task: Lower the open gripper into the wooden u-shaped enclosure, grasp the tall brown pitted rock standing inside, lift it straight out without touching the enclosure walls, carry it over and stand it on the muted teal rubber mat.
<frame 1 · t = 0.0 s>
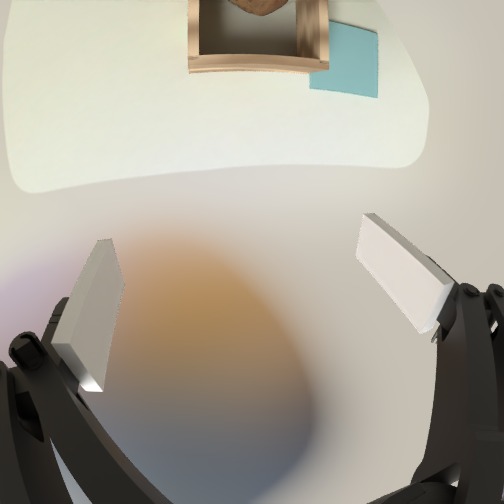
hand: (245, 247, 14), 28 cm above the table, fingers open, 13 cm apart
wooden u-shaped enclosure: (248, 6, 26), on the table
mat: (345, 58, 33), on the table
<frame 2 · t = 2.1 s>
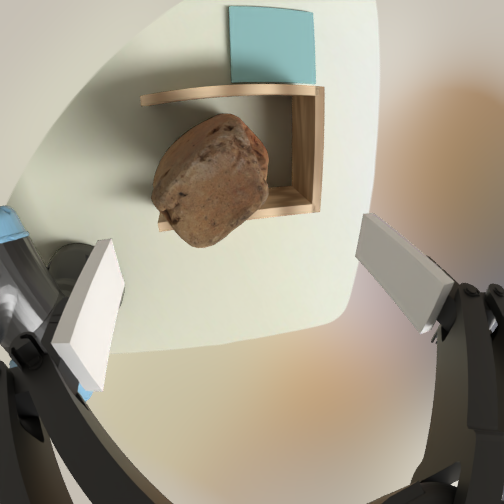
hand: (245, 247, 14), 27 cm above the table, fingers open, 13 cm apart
wooden u-shaped enclosure: (227, 145, 36), on the table
brown pitted rock: (205, 146, 36), on the table
mat: (273, 44, 30), on the table
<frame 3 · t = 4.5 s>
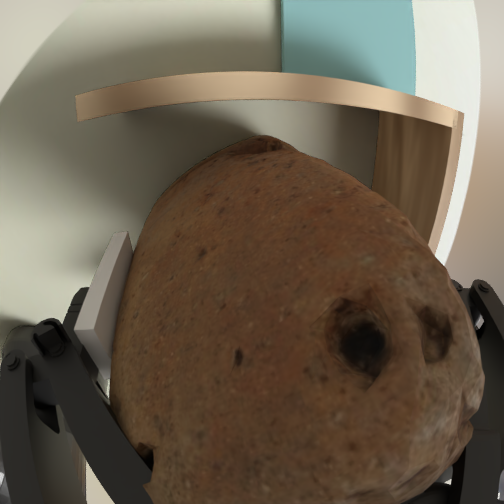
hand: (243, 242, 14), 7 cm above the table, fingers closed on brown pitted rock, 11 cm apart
wooden u-shaped enclosure: (267, 192, 21), on the table
brown pitted rock: (227, 194, 20), on the table, touching gripper
mat: (354, 16, 14), on the table
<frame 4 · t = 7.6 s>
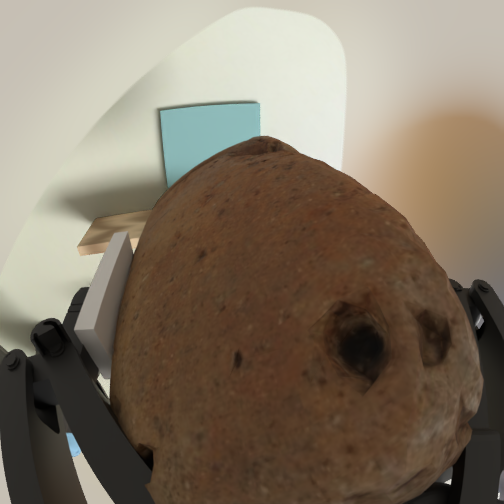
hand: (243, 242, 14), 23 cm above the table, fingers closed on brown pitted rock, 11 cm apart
wooden u-shaped enclosure: (172, 260, 39), on the table
brown pitted rock: (227, 195, 20), point 15 cm above the table, touching gripper
mat: (212, 151, 33), on the table
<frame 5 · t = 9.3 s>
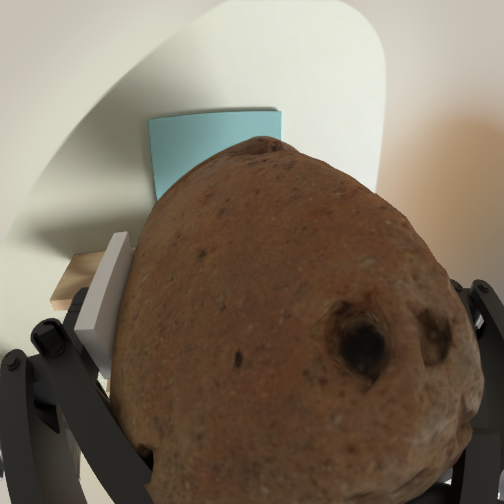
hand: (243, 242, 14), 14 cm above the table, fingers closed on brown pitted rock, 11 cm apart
wooden u-shaped enclosure: (169, 303, 32), on the table
brown pitted rock: (227, 194, 20), point 6 cm above the table, touching gripper
mat: (217, 174, 26), on the table
when the fingers open (9 cm above the table, at t = 10.9 s): brown pitted rock stays where it is, resting on mat.
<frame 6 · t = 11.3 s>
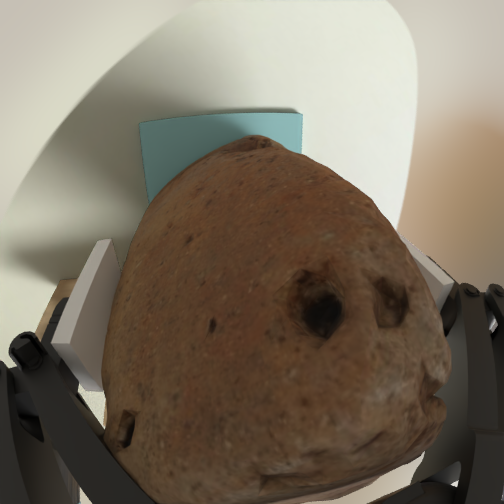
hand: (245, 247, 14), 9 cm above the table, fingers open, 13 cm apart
wooden u-shaped enclosure: (169, 332, 28), on the table
brown pitted rock: (222, 192, 21), resting on mat
mat: (224, 189, 21), on the table
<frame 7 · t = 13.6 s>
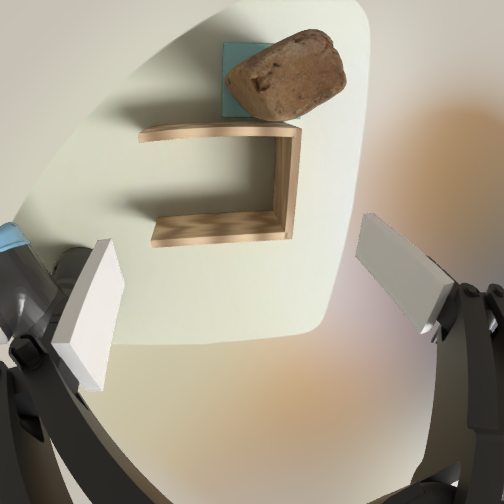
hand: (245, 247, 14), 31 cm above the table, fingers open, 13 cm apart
wooden u-shaped enclosure: (215, 173, 42), on the table
brown pitted rock: (261, 80, 35), resting on mat
mat: (262, 80, 35), on the table
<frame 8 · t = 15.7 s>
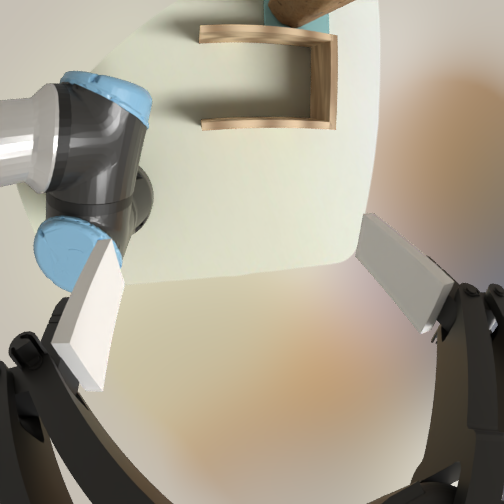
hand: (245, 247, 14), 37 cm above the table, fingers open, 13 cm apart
wooden u-shaped enclosure: (258, 78, 40), on the table
brown pitted rock: (296, 8, 33), resting on mat
mat: (296, 9, 33), on the table
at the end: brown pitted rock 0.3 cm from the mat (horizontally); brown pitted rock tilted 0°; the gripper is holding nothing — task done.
